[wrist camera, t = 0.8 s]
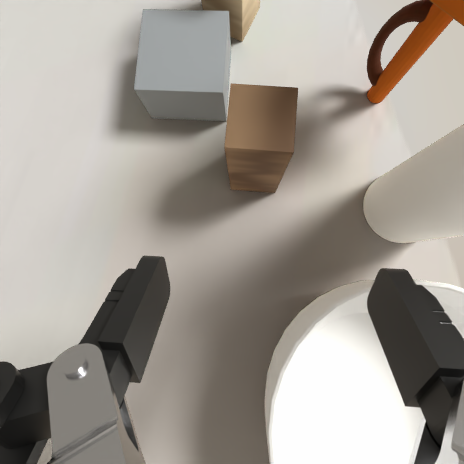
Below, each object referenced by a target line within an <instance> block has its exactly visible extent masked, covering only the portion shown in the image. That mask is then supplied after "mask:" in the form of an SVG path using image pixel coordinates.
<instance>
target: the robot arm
mask: <svg viewBox="0 0 464 464" xmlns="http://www.w3.org/2000/svg"><path fill="white" fill-rule="evenodd" d="M169 296H170V281H169V277H168V272H167V267H166V262H165V259H164V257H159V256H143V257H142V258H141V259H140V261H139V263H138V265H137V267H136V269H128V270H126V271H125V272H124V273H123V274H122V275H121V276H120V277H118V278H117V280H116V282H115V283H114V285H113V287H112V289H111V292H109V294H108V296H107V297H106V299H105V302H103V304H102V306H101V308H100V309H99V311H98V313H97V315H96V316H95V318H94V320H93V321H92V323H91V325H90V327H89V328H88V330H87V332H86V334H85V335H84V337H83V339H82V340H81V342H80V343H79V344H78V345H75V346H73V347H71V348H69V349H67V350H66V351H64V352H63V353H62V354H60V355H59V356H58V357H57V358H56V359H55V361H54V362H50V363H47V364H42V365H38V366H34V367H30V368H26V369H22V370H17V369H16V368H15V367H14V366H13V365H12V364H11V363H8V362H0V464H37V462H38V460H39V457H40V455H41V453H42V451H43V449H44V447H45V445H46V443H47V440H48V439H49V438H51V439H52V458H51V460H50V461H49V462H48V463H47V464H146V462H145V460H144V457H143V454H142V451H141V448H140V445H139V442H138V438H137V435H136V431H135V428H134V425H133V421H132V418H131V414H130V411H129V408H128V404H127V401H126V397H125V393H126V390H127V387H128V385H129V382H135V383H140V382H141V379H142V376H143V373H144V370H145V368H146V365H147V362H148V359H149V356H150V353H151V350H152V347H153V344H154V341H155V338H156V335H157V332H158V329H159V326H160V324H161V321H162V318H163V315H164V312H165V309H166V306H167V303H168V300H169ZM367 309H368V313H369V315H370V318H371V320H372V323H373V325H374V328H375V331H376V333H377V336H378V338H379V341H380V343H381V346H382V348H383V351H384V354H385V356H386V359H387V361H388V364H389V366H390V369H391V371H392V374H393V376H394V379H395V382H396V384H397V387H398V389H399V392H400V394H401V397H402V399H403V402H404V405H405V406H407V407H419V408H421V411H422V413H423V415H424V417H423V418H422V420H421V422H420V425H419V429H418V432H417V436H416V439H415V443H414V446H413V450H412V453H411V457H410V460H409V463H408V464H464V339H463V337H462V336H461V334H460V333H459V331H458V330H457V328H456V327H455V325H453V324H452V321H451V319H450V318H449V316H448V315H447V313H445V312H444V311H445V310H444V309H443V307H442V306H441V304H440V303H439V301H438V300H437V298H436V297H435V296H434V295H433V294H432V293H430V292H429V291H428V290H427V289H426V288H425V287H423V286H422V285H416V283H415V282H414V280H413V279H412V277H411V275H410V274H409V272H408V271H407V270H405V269H388V268H382V269H380V270H379V272H378V274H377V276H376V279H375V281H374V283H373V285H372V288H371V290H370V292H369V295H368V298H367Z"/></svg>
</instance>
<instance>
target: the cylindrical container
mask: <svg viewBox="0 0 464 464" xmlns="http://www.w3.org/2000/svg"><path fill="white" fill-rule="evenodd" d="M363 210H364V215H365V218H366V220H367V222H368V224H369V226H370V227H371V228H372V230H373V231H374V232H375V233H377V234H378V235H379V236H380V237H382V238H384V239H386V240H388V241H391V242H395V243H411V242H419V241H427V240H434V239H442V238H449V237H458V236H464V124H463V125H461V126H460V127H458V128H457V129H455V130H454V131H452V132H450V133H449V134H447V135H446V136H444V137H442V138H441V139H439V140H438V141H436V142H434V143H433V144H431V145H430V146H428V147H427V148H425V149H423V150H422V151H420V152H419V153H417V154H416V155H414V156H412V157H411V158H409V159H408V160H406V161H404V162H403V163H401V164H400V165H398V166H397V167H395V168H393V169H392V170H390V171H389V172H387V173H385V174H384V175H382V176H381V177H379V178H378V179H376V180H375V181H374V182H373V183H372V184H371V185H370V186H369V188H368V189H367V191H366V193H365V197H364V202H363Z"/></svg>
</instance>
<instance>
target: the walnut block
mask: <svg viewBox="0 0 464 464" xmlns="http://www.w3.org/2000/svg"><path fill="white" fill-rule="evenodd" d="M297 97H298V88H293V87H277V86H261V85H245V84H231V88H230V97H229V107H228V117H227V127H226V137H225V147H224V148H225V154H226V161H227V168H228V174H229V181H230V188H231V190H244V191H256V192H268V193H275V192H276V189H277V187H278V185H279V183H280V181H281V179H282V176H283V174H284V172H285V170H286V168H287V166H288V163H289V161H290V159H291V157H292V155H293V153H294V140H295V125H296V111H297Z"/></svg>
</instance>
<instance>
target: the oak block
mask: <svg viewBox="0 0 464 464" xmlns="http://www.w3.org/2000/svg"><path fill="white" fill-rule="evenodd" d="M201 1H202V7H203V10H207V11H229V21H230V37H232V38H234V39H237V40H239V41H243V39H244V37H245V35H246V34H247V32H248V30H249V28H250V26H251V24H252V22H253V20H254V18H255V16H256V14H257V12H258V10H259V8H260V0H201Z"/></svg>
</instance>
